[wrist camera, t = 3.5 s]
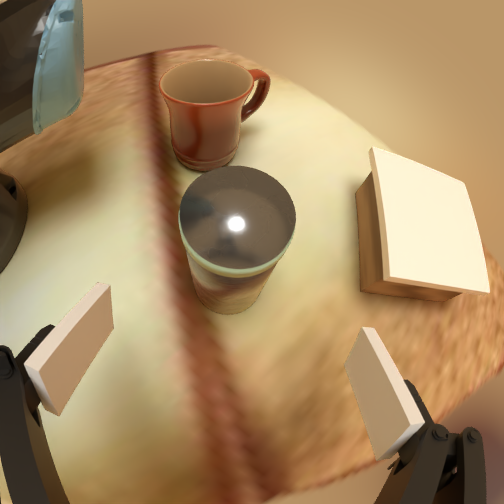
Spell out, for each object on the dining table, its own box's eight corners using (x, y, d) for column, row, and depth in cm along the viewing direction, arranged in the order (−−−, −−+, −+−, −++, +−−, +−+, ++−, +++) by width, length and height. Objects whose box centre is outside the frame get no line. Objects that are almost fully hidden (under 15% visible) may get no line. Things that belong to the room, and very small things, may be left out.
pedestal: (351, 299, 26) (390, 276, 20) (347, 185, 32) (372, 146, 25) (448, 310, 27) (489, 292, 20) (434, 211, 33) (464, 183, 26)
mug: (190, 193, 28) (184, 117, 19) (156, 144, 31) (145, 74, 21) (279, 152, 32) (299, 83, 23) (238, 112, 35) (247, 48, 25)
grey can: (186, 309, 24) (163, 255, 13) (200, 244, 26) (193, 157, 15) (257, 320, 24) (293, 277, 13) (265, 255, 27) (299, 175, 16)
